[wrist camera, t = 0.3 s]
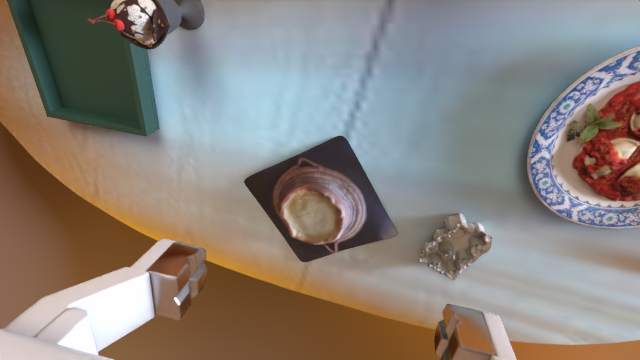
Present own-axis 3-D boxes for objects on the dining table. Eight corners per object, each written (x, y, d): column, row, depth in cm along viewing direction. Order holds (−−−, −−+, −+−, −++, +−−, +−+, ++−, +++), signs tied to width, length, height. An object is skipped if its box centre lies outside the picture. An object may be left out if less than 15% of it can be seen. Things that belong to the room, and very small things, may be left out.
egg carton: (454, 207, 53) (458, 223, 50) (493, 229, 54) (499, 246, 50) (414, 247, 59) (415, 264, 55) (449, 267, 60) (453, 284, 56)
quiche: (399, 233, 58) (399, 249, 55) (302, 261, 66) (297, 277, 63) (343, 133, 50) (339, 144, 47) (242, 178, 58) (232, 191, 55)
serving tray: (16, -41, 46) (-9, -42, 43) (135, -23, 44) (118, -23, 42) (63, 109, 58) (47, 116, 55) (159, 128, 56) (147, 136, 53)
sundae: (154, 0, 45) (61, 9, 33) (188, -30, 43) (101, -32, 30) (185, 45, 48) (110, 70, 35) (219, 19, 45) (151, 37, 32)
